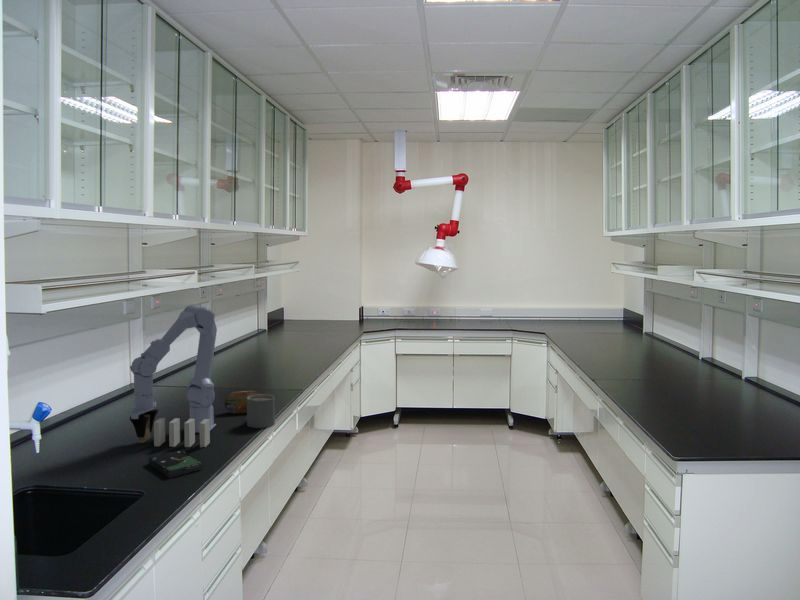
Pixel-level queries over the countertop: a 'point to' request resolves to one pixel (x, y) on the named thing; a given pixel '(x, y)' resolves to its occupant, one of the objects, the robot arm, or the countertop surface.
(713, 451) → the countertop surface
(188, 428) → the domino
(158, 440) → the domino
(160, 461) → the disk drive
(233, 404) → the tin
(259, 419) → the coffee mug
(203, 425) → the domino
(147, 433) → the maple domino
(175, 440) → the domino
